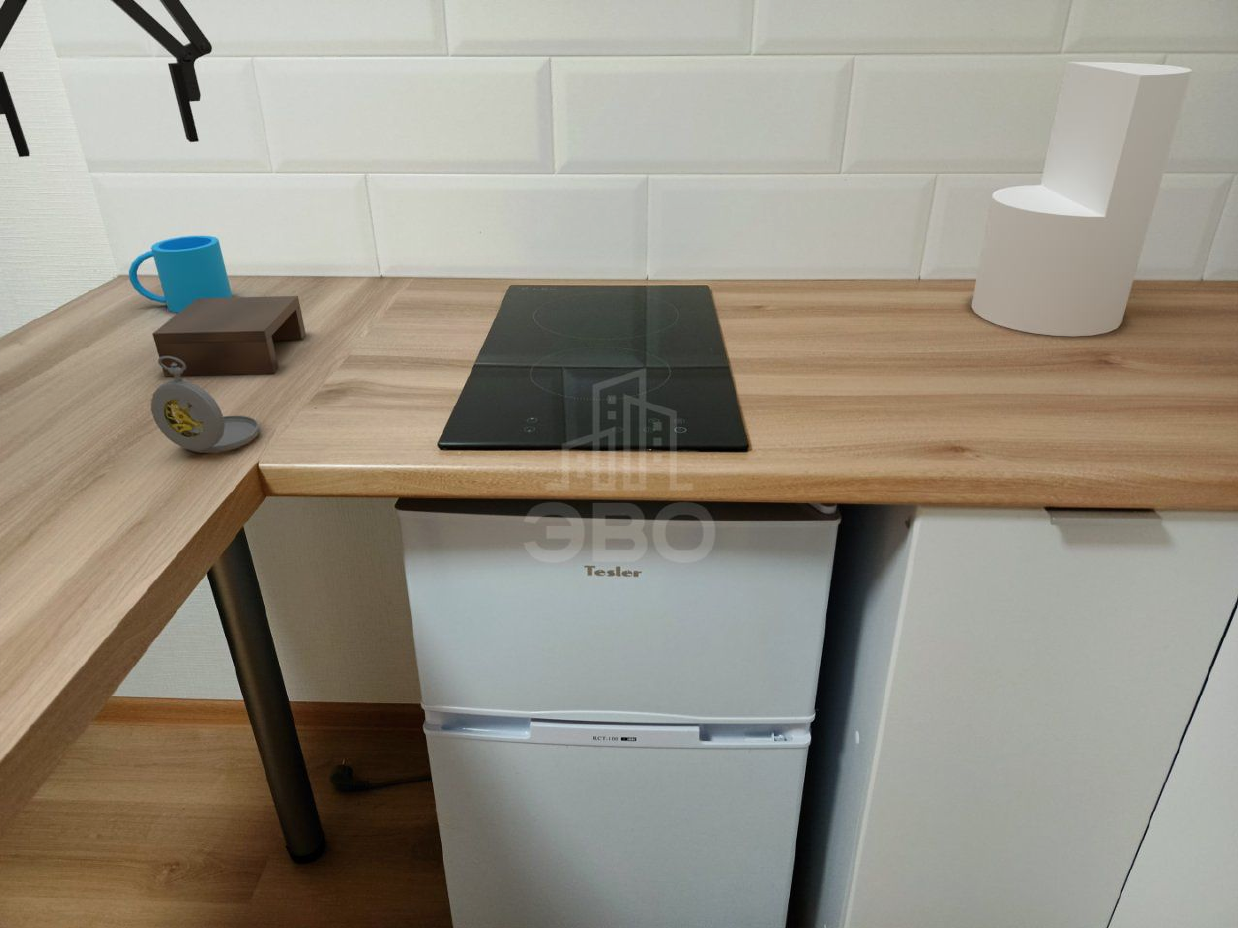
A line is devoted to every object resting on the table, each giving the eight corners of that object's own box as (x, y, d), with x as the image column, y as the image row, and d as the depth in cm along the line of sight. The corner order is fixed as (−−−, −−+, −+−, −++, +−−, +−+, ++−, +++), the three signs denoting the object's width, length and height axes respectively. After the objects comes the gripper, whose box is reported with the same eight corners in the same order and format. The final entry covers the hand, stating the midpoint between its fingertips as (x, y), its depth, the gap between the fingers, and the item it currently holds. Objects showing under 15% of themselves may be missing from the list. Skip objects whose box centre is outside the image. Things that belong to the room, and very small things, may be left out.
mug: (238, 292, 121) (224, 233, 117) (226, 310, 114) (211, 249, 110) (146, 299, 119) (129, 239, 115) (129, 318, 112) (110, 256, 108)
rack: (164, 376, 94) (151, 333, 92) (207, 337, 105) (197, 298, 102) (274, 373, 95) (264, 330, 92) (306, 335, 105) (298, 295, 103)
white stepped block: (1082, 290, 115) (1140, 61, 102) (1149, 335, 100) (1227, 73, 87) (952, 291, 116) (993, 63, 102) (999, 337, 101) (1054, 76, 87)
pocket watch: (260, 419, 84) (236, 322, 80) (262, 457, 78) (236, 354, 73) (169, 434, 82) (139, 335, 77) (162, 475, 75) (129, 369, 70)
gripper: (-180, -153, 59) (-58, 168, 69) (207, -135, 70) (263, 139, 81) (-162, -140, 65) (-51, 155, 75) (194, -125, 76) (248, 130, 86)
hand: (111, 147), depth 78 cm, fingers open, 13 cm apart
